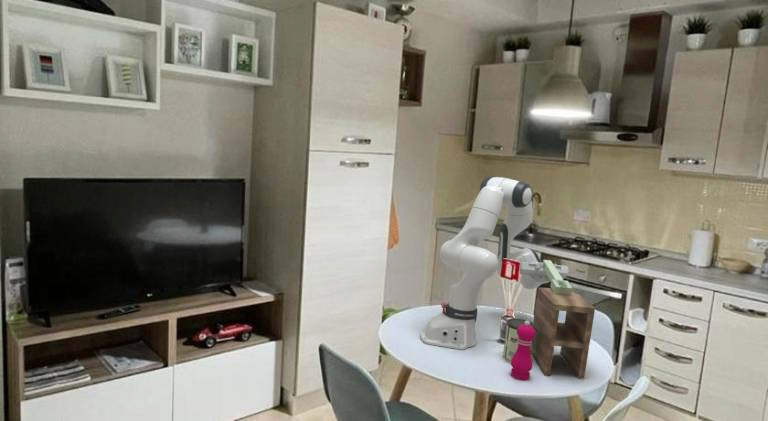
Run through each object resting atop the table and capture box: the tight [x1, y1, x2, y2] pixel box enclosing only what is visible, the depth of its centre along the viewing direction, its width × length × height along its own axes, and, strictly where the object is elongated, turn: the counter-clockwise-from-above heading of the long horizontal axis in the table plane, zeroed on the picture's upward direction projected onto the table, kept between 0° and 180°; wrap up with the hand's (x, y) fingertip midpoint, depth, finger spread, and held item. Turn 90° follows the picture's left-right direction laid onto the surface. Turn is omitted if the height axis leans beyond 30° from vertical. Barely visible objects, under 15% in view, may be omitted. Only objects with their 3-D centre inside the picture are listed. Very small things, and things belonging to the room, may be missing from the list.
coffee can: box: [502, 318, 535, 364], centre depth 191 cm, size 10×10×14 cm
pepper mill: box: [510, 320, 535, 381], centre depth 177 cm, size 7×7×20 cm
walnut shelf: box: [531, 286, 596, 380], centre depth 188 cm, size 14×20×26 cm
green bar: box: [542, 259, 573, 296], centre depth 200 cm, size 6×24×3 cm, turn 179°
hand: (548, 264), depth 208 cm, fingers closed on green bar, 3 cm apart
